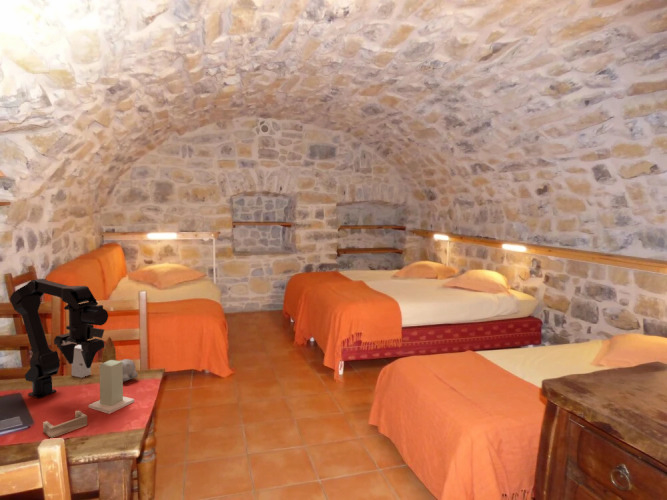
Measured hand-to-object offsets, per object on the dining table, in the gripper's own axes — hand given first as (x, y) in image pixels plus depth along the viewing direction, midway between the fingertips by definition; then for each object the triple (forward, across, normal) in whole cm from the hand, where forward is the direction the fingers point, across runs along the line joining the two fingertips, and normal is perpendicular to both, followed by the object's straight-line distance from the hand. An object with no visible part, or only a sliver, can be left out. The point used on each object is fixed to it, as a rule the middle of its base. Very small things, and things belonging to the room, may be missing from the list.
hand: (79, 365), depth 145 cm
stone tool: (+13, +16, -24) cm, 32 cm away
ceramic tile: (+13, -12, -3) cm, 18 cm away
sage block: (+12, -12, -3) cm, 17 cm away
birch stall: (+13, -13, +14) cm, 24 cm away
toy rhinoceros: (+13, +3, -20) cm, 24 cm away
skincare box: (+13, +22, -16) cm, 30 cm away
